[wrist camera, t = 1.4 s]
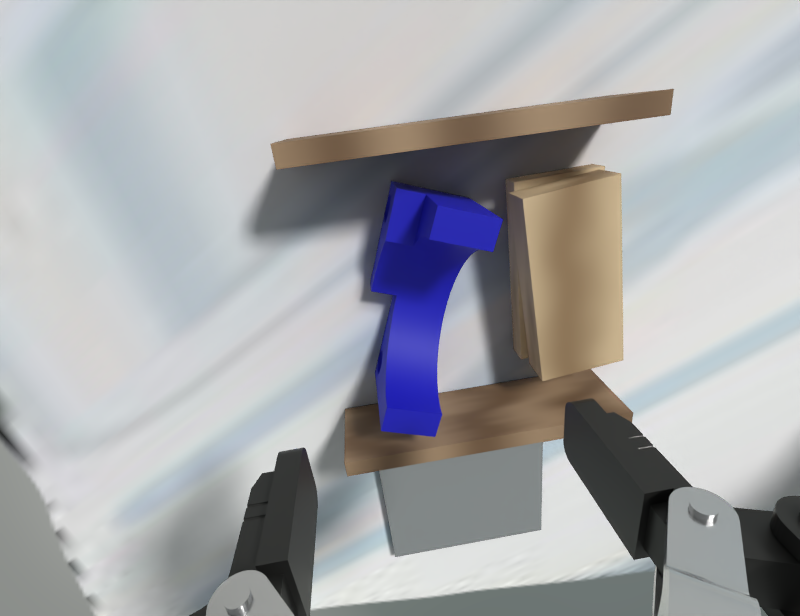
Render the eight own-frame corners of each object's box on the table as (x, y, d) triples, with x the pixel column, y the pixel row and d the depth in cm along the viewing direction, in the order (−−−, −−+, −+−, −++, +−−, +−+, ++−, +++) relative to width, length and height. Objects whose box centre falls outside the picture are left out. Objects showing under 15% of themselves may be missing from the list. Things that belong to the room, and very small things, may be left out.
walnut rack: (608, 95, 23) (673, 88, 18) (588, 380, 30) (631, 426, 25) (286, 139, 22) (270, 143, 17) (347, 420, 29) (347, 476, 25)
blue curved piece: (391, 180, 23) (403, 198, 18) (468, 197, 24) (503, 219, 19) (352, 367, 28) (352, 428, 22) (418, 376, 29) (435, 437, 23)
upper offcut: (599, 169, 23) (620, 173, 21) (605, 344, 27) (623, 360, 26) (508, 192, 23) (522, 199, 21) (529, 364, 27) (542, 381, 25)
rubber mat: (539, 416, 31) (542, 422, 30) (538, 523, 35) (541, 529, 35) (374, 445, 30) (375, 451, 30) (394, 550, 35) (395, 557, 34)
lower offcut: (585, 163, 25) (604, 166, 23) (581, 330, 29) (597, 344, 27) (501, 177, 24) (513, 182, 23) (510, 344, 29) (521, 359, 27)
